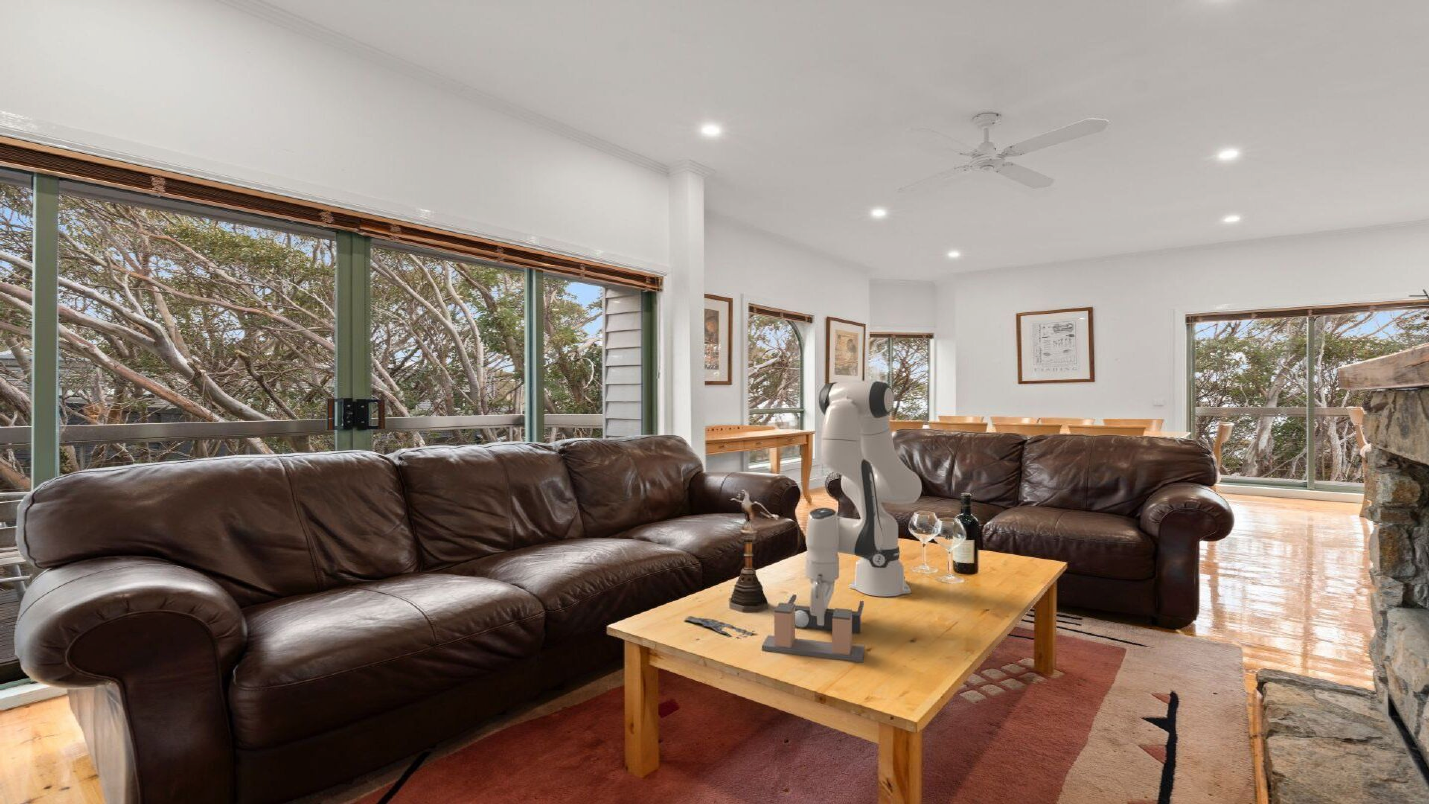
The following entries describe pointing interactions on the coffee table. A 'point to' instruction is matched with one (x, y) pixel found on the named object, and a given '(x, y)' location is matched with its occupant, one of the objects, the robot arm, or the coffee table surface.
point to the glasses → (809, 621)
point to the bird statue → (749, 560)
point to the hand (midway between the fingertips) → (822, 621)
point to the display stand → (832, 650)
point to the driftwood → (717, 625)
